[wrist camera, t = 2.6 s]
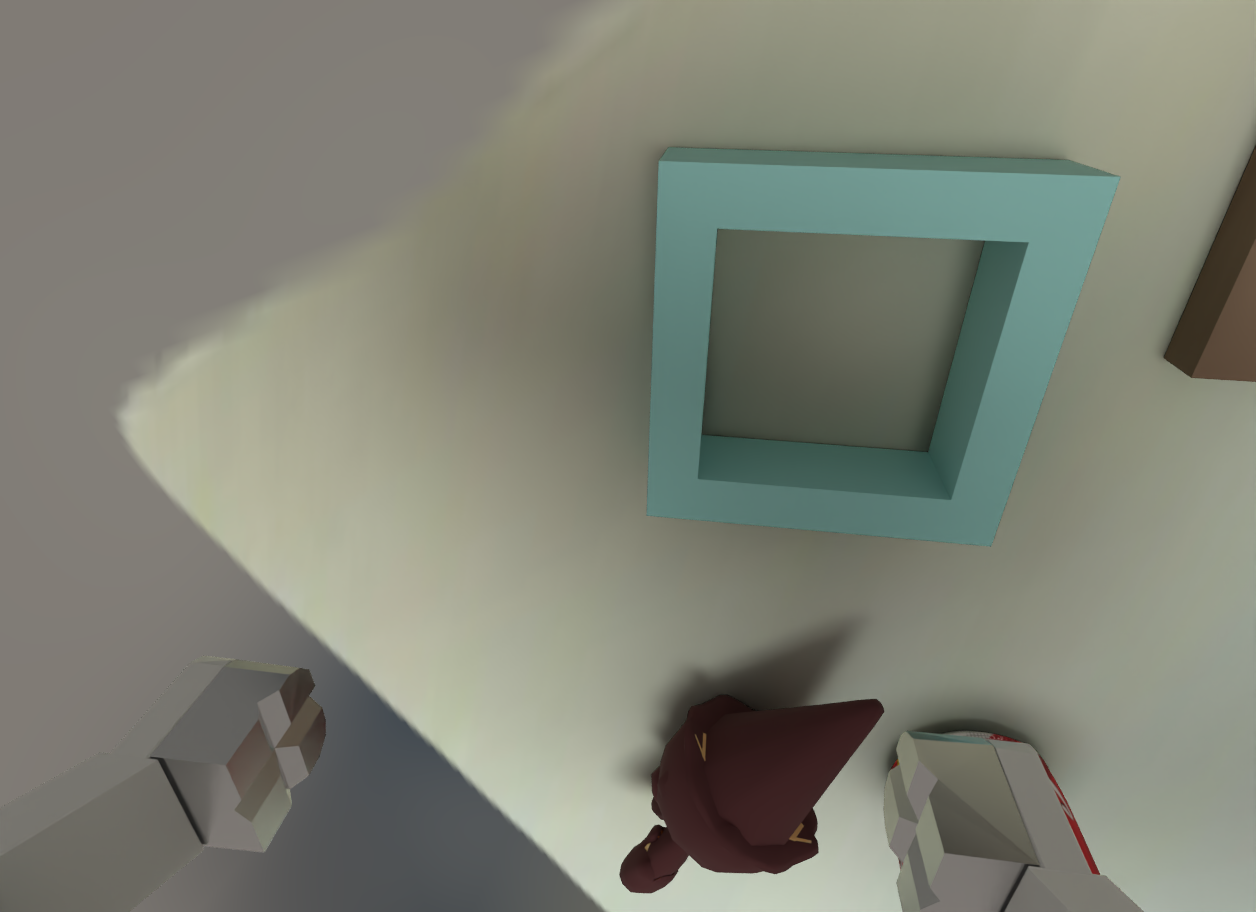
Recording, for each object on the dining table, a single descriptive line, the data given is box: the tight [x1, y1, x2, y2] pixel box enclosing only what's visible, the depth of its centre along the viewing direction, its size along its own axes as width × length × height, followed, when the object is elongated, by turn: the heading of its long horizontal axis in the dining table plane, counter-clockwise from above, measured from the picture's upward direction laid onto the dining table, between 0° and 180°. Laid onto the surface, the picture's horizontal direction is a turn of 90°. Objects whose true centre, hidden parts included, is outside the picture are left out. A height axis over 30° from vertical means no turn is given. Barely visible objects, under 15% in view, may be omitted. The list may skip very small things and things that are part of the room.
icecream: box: [620, 695, 884, 893], centre depth 29 cm, size 7×7×15 cm
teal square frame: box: [647, 147, 1120, 546], centre depth 21 cm, size 11×11×3 cm
